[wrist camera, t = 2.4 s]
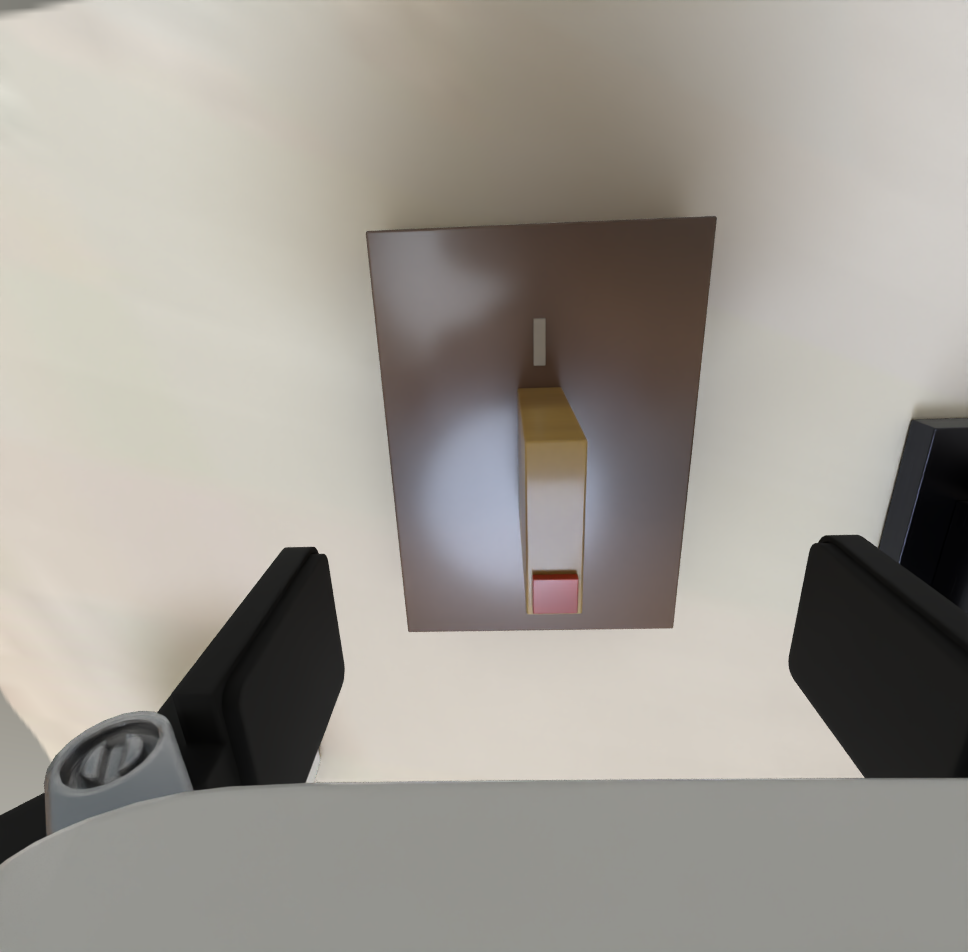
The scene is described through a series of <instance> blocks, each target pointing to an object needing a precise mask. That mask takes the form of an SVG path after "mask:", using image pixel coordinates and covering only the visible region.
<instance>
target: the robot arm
mask: <svg viewBox="0 0 968 952" xmlns="http://www.w3.org/2000/svg"><path fill="white" fill-rule="evenodd" d="M788 662H789V669H790V673H791V675H792V677H793V679H794V681H795V682H796V683H797V685H798V686H799V687H800V689H801V690H802V692H803V693H804V694H805V696H806V697H807V699H808V700H809V701H810V703H811V704H812V705H813V707H814V708H815V710H816V711H817V712H818V714H819V715H820V717H821V718H822V719H823V721H824V722H825V723H826V725H827V726H828V728H829V729H830V730H831V732H832V733H833V734H834V736H835V737H836V739H837V740H838V741H839V743H840V744H841V746H842V747H843V748H844V750H845V751H846V752H847V754H848V755H849V757H850V758H851V759H852V761H853V762H854V764H855V765H856V766H857V768H858V769H859V770H860V772H861V773H862V775H863V776H864V777H865V778H783V779H623V780H489V781H408V782H327V783H306V781H307V778H308V775H309V773H310V770H311V767H312V765H313V762H314V759H315V757H316V754H317V751H318V749H319V746H320V743H321V741H322V738H323V735H324V733H325V730H326V727H327V725H328V722H329V719H330V717H331V714H332V711H333V709H334V706H335V703H336V701H337V698H338V695H339V693H340V690H341V687H342V684H343V680H344V671H345V668H344V660H343V653H342V647H341V640H340V634H339V628H338V621H337V615H336V609H335V602H334V596H333V590H332V583H331V577H330V570H329V564H328V559H327V556H326V555H325V554H319V553H318V551H317V549H316V548H315V547H288V548H284V549H283V550H282V551H281V552H280V554H279V555H278V556H277V558H276V559H275V560H274V561H273V563H272V564H271V565H270V567H269V568H268V569H267V571H266V572H265V573H264V574H263V576H262V577H261V578H260V580H259V581H258V582H257V584H256V585H255V586H254V587H253V589H252V590H251V591H250V593H249V594H248V595H247V597H246V598H245V599H244V600H243V602H242V603H241V604H240V606H239V607H238V608H237V609H236V611H235V612H234V613H233V615H232V616H231V617H230V619H229V620H228V621H227V622H226V624H225V625H224V626H223V628H222V629H221V630H220V632H219V633H218V634H217V635H216V637H215V638H214V639H213V641H212V642H211V643H210V644H209V646H208V647H207V648H206V650H205V651H204V652H203V654H202V655H201V656H200V657H199V659H198V660H197V661H196V663H195V664H194V665H193V667H192V668H191V669H190V670H189V672H188V673H187V674H186V676H185V677H184V678H183V679H182V681H181V682H180V683H179V685H178V686H177V687H176V689H175V690H174V691H173V692H172V694H171V695H170V697H169V698H168V699H167V701H166V702H165V703H164V704H163V706H162V707H161V708H160V710H159V711H158V712H157V713H156V712H149V711H137V712H131V713H125V714H122V715H119V716H116V717H113V718H110V719H107V720H104V721H103V722H101V723H99V724H97V725H95V726H93V727H91V728H89V729H87V730H86V731H84V732H83V733H81V734H80V735H78V736H77V737H76V738H74V739H73V740H71V741H70V742H69V743H68V744H67V745H66V746H65V747H64V748H63V749H62V750H61V751H60V752H59V753H58V754H57V755H56V756H55V758H54V759H53V761H52V762H51V764H50V766H49V767H48V769H47V772H46V776H45V781H44V789H45V793H43V794H41V795H39V796H37V797H35V798H33V799H31V800H29V801H27V802H25V803H23V804H21V805H19V806H18V807H16V808H14V809H12V810H10V811H8V812H6V813H4V814H2V815H0V952H968V614H967V613H966V612H965V611H963V610H962V609H960V608H959V607H958V606H956V605H955V604H954V603H952V602H951V601H950V600H948V599H947V598H945V597H944V596H943V595H941V594H940V593H939V592H937V591H936V590H934V589H933V588H932V587H930V586H929V585H928V584H926V583H925V582H924V581H922V580H921V579H919V578H918V577H917V576H915V575H914V574H913V573H911V572H910V571H908V570H907V569H906V568H904V567H903V566H902V565H900V564H899V563H898V562H896V561H895V560H893V559H892V558H891V557H889V556H888V555H887V554H885V553H884V552H882V551H881V550H880V549H878V548H877V547H876V546H874V545H873V544H872V543H870V542H869V541H867V540H866V539H865V538H863V537H862V536H859V535H826V536H824V537H822V538H821V539H820V541H819V542H818V543H815V544H813V545H812V546H811V548H810V551H809V556H808V561H807V566H806V571H805V577H804V582H803V587H802V592H801V597H800V602H799V607H798V613H797V618H796V623H795V628H794V633H793V638H792V643H791V649H790V654H789V661H788Z"/></svg>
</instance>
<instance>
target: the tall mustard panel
mask: <svg viewBox="0 0 968 952" xmlns="http://www.w3.org/2000/svg"><path fill="white" fill-rule="evenodd" d="M517 404H518V468H519V522H520V535H521V548H522V561H523V575H524V588H525V601H526V612H527V614H581V613H582V599H583V568H584V538H585V508H586V478H587V447H588V441H587V439H586V437H585V435H584V433H583V431H582V429H581V426H580V424H579V422H578V420H577V418H576V416H575V414H574V412H573V410H572V408H571V406H570V404H569V402H568V400H567V398H566V396H565V394H564V392H563V390H562V388H561V387H550V388H519V389H518V390H517Z"/></svg>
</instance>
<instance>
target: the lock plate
mask: <svg viewBox="0 0 968 952" xmlns="http://www.w3.org/2000/svg"><path fill="white" fill-rule="evenodd" d="M716 220H717V218H716V216H704V217H680V218H657V219H634V220H611V221H588V222H564V223H541V224H518V225H495V226H472V227H448V228H425V229H402V230H379V231H367V232H366V239H367V249H368V258H369V267H370V277H371V286H372V296H373V305H374V314H375V324H376V333H377V342H378V352H379V361H380V371H381V380H382V389H383V399H384V408H385V418H386V427H387V436H388V446H389V455H390V464H391V474H392V483H393V493H394V502H395V511H396V521H397V530H398V539H399V549H400V558H401V568H402V577H403V586H404V596H405V605H406V615H407V624H408V631H409V632H439V631H510V630H581V629H652V628H673V623H674V614H675V605H676V595H677V586H678V576H679V567H680V558H681V548H682V539H683V530H684V520H685V511H686V501H687V492H688V483H689V473H690V464H691V455H692V445H693V436H694V426H695V417H696V408H697V398H698V389H699V380H700V370H701V361H702V351H703V342H704V333H705V323H706V314H707V305H708V295H709V286H710V276H711V267H712V258H713V248H714V239H715V230H716ZM550 387H561V388H562V390H563V392H564V394H565V396H566V398H567V400H568V402H569V404H570V406H571V408H572V410H573V412H574V414H575V416H576V418H577V420H578V422H579V424H580V426H581V429H582V431H583V433H584V435H585V437H586V439H587V441H588V447H587V478H586V508H585V538H584V568H583V599H582V613H581V614H527V612H526V601H525V588H524V575H523V561H522V548H521V535H520V522H519V468H518V404H517V390H518V389H519V388H550Z"/></svg>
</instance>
